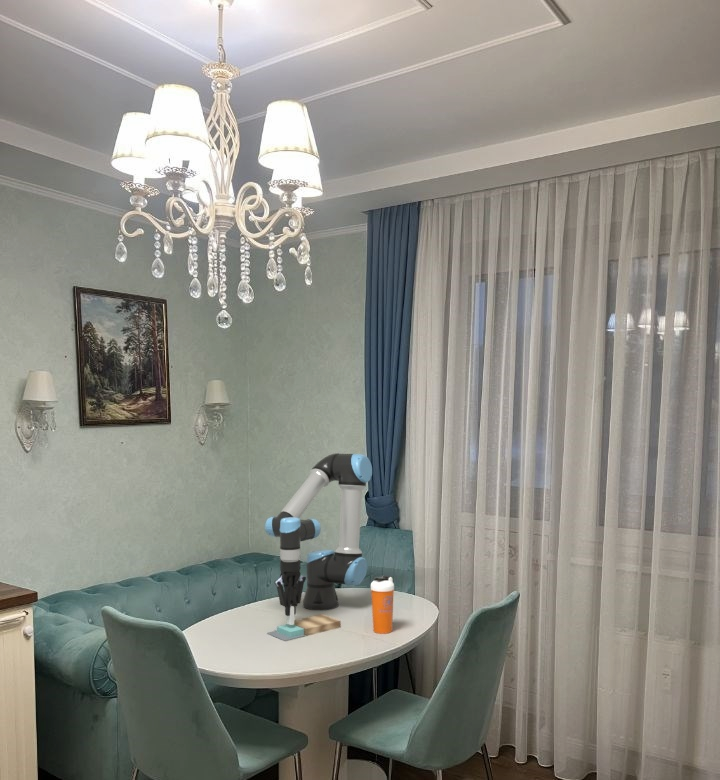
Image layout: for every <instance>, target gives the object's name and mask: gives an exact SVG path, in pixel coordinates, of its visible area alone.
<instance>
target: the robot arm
mask: <svg viewBox="0 0 720 780" xmlns="http://www.w3.org/2000/svg"><path fill="white" fill-rule="evenodd" d="M372 476H373V467H372V462H371V461H370V459H369V457H368V456H366V455H365V454H361V453H360V454H359V453H339V452H338V453H336V452H335V453H332V454H328V455H326V456H325V457H323V458H322V459H320V460H319V461H318V462H317V463H316V464H315V465H314V466H313V467H312V468H311V469H310V471H309V472H308V477H307V478H306V479H305V481H304V482H303V483H302V484H301V485H300V487H299V488H298V489H297V491H296V492H295V493H294V495H293V496H292V497H291V498H290V500H289V501H287V503H286V504H285V506H284V507H283V508H282V509H281V511H280V512H279V513H278V515H277V516H270V517H268V518H267V519H266V521H265V524H264V530H265V532H266V534H267V535H268V536H270V537H274V538H279V540H280V541H279V542H280V546H279V551H280V552H279V560H280V561H279V571H280V575H279V578H278V579H277V580H274V582H273V583H274V585H275V586H276V590H277V594H278V595H277V596H278V599H279V604H280V606H283V607H284V614H285V617H286V624H289V625H294V620H295V615H296V613H297V611H296V609H297V607H298V604H301V600H302V594H303V590H304V584H305V582H306V589H305V593H304V597H303V600H302V606H303V608H305V609H307V610H313V611H326V610H333V609H335V608H338V606H339V598H338V594H337V591H336V588H335V584H338V585H346V586H354V587H356V586H358V585H360V584H361V583H363V581H364V579H365V578H366V575H367V572H368V563H367V560H366V558H364V557H363V551H362V550H361V549H360V538H361V537H360V536H361V535H360V532H361V516H362V515H361V514H362V497H363V496H362V495H363V490H364V489H365V488H366V486H367V483H368V482H370V481H371V478H372ZM334 481H337V482H338V484H337V485H338V487H340V489H341V495H340V496H341V498H340V513H339V514H340V515H339V529H338V531H339V532H338V547H337V548H336V549H335V550H333V549H320V550H315V551H310V552H309V553H308V554H307V555H306V562H305V563H306V577H305V576H304V575H302V574H301V542H304V541H308V540H313V539H315V538H317V537H319V536H320V534H321V531H322V527H321V524H320V521H318V520H317V519H315V518H308V519H301V517H302V515H303V514H304V513H305V511H306V510H307V509H308V507H309V506H310V505H311V504H312V503H313V501H314V500H315V499H316V497H317V496H318V495H319V493H320V492H321V491H322V489H323V488H325V487H327V486H328V485H329V484H330V483H331V482H334Z"/></svg>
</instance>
